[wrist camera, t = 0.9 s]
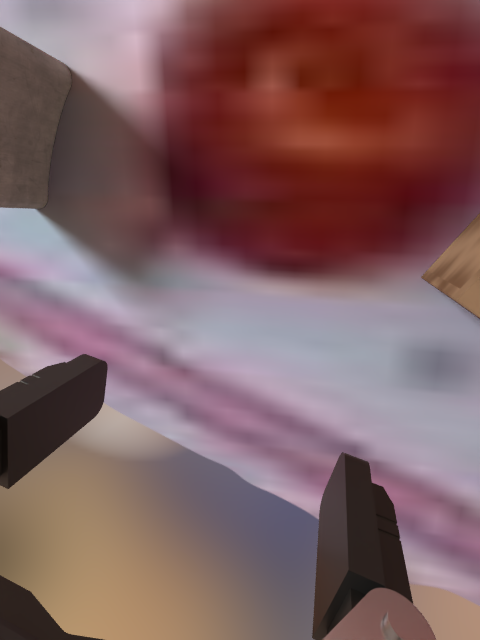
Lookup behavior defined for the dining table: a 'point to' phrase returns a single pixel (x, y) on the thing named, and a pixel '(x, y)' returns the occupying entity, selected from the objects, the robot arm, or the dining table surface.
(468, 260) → the box
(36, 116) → the hip flask
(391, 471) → the dining table surface
